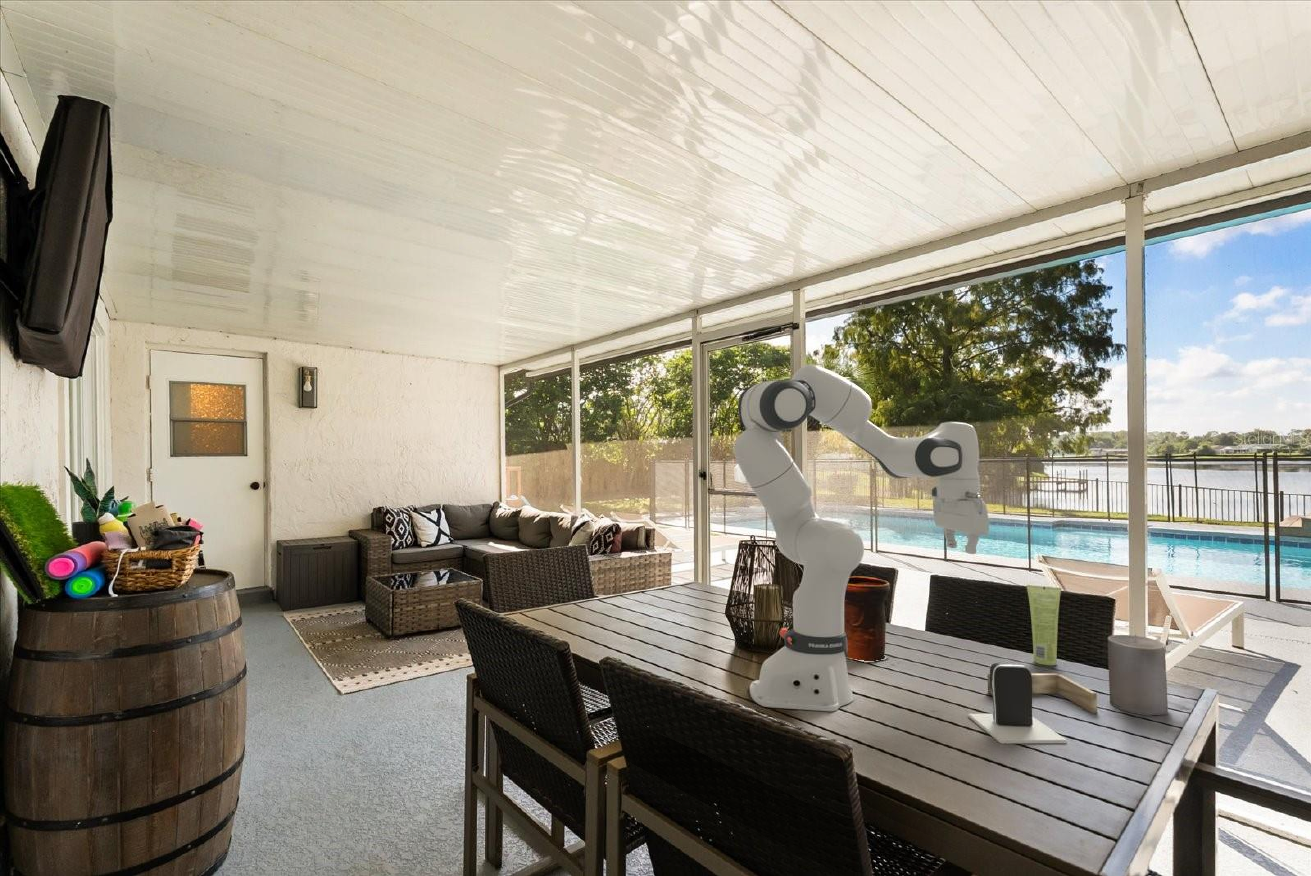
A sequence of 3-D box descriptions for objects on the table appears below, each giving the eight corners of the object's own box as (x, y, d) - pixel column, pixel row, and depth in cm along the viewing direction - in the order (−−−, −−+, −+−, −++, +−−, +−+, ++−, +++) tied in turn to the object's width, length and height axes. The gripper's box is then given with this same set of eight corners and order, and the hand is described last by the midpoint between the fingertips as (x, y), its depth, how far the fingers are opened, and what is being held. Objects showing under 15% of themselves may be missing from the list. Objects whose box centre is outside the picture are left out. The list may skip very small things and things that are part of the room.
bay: (1018, 713, 127) (1018, 693, 127) (987, 691, 139) (987, 673, 139) (1097, 713, 127) (1096, 693, 127) (1059, 691, 139) (1059, 673, 139)
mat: (1000, 743, 114) (1000, 740, 114) (968, 716, 126) (968, 713, 126) (1066, 743, 114) (1066, 739, 114) (1027, 716, 126) (1027, 713, 126)
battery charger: (1025, 719, 123) (1023, 660, 123) (1034, 727, 119) (1032, 667, 120) (988, 718, 124) (986, 660, 124) (996, 726, 120) (994, 666, 120)
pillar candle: (1114, 694, 137) (1111, 626, 138) (1171, 706, 130) (1168, 634, 131) (1105, 707, 130) (1102, 635, 131) (1165, 721, 123) (1161, 644, 124)
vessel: (830, 645, 175) (830, 574, 176) (882, 648, 173) (883, 576, 174) (837, 662, 161) (838, 584, 162) (895, 665, 159) (895, 586, 160)
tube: (1047, 659, 162) (1044, 583, 163) (1063, 665, 157) (1061, 587, 158) (1028, 660, 161) (1026, 584, 161) (1045, 667, 156) (1042, 588, 156)
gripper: (995, 493, 135) (998, 557, 135) (953, 489, 156) (955, 544, 155) (966, 493, 135) (968, 557, 135) (927, 489, 156) (929, 544, 155)
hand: (961, 550), depth 145 cm, fingers open, 8 cm apart
